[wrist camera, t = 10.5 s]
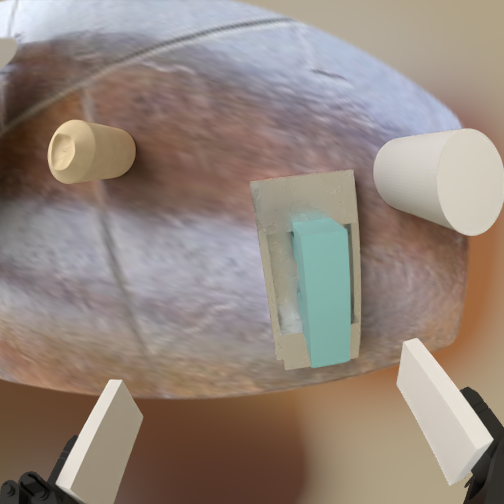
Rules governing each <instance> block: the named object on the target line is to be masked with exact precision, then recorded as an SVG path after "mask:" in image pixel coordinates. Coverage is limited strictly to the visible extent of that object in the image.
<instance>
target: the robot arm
mask: <svg viewBox="0 0 504 504" xmlns="http://www.w3.org/2000/svg"><path fill="white" fill-rule="evenodd" d="M397 386H398V388H399V390H400V391H401V393H402V395H403V397H404V399H405V400H406V402H407V404H408V406H409V408H410V410H411V411H412V413H413V415H414V417H415V419H416V421H417V422H418V424H419V426H420V428H421V430H422V432H423V434H424V436H425V437H426V439H427V441H428V443H429V445H430V447H431V449H432V451H433V453H434V455H435V457H436V459H437V461H438V463H439V465H440V467H441V469H442V471H443V473H444V476H445V477H446V480H447V482H448V484H449V486H450V485H452V484H454V483H456V482H458V481H459V480H461V479H463V478H465V477H466V476H467V474H468V473H469V472H470V471H471V472H472V473H473V476H472V477H471V478H470V480H469V481H468V482H467V483H466V485H465V488H466V487H467V486H468V485H469V484H470V485H469V488H468V491H467V494H466V497H465V500H464V503H463V504H504V427H503V426H502V424H501V423H500V422H499V420H498V419H497V417H496V416H495V415H494V414H493V412H492V411H491V409H490V408H488V406H487V404H486V403H485V402H484V401H483V399H482V398H481V396H480V395H479V394H478V393H477V392H476V391H474V390H472V389H471V388H469V387H466V388H464V389H462V390H460V391H459V390H458V388H457V387H456V386H455V384H454V383H453V382H452V381H451V379H450V378H449V377H448V375H447V374H446V373H445V371H444V370H443V369H442V368H441V366H440V365H439V364H438V363H437V361H436V360H435V359H434V358H433V356H432V355H431V354H430V353H429V351H428V350H427V349H426V348H425V346H424V345H423V344H422V343H421V342H420V340H419V339H418V338H414V339H411V340H408V341H405V342H403V348H402V355H401V361H400V367H399V373H398V379H397ZM142 420H143V415H142V414H141V412H140V411H139V409H138V407H137V405H136V404H135V402H134V400H133V398H132V396H131V395H130V393H129V391H128V389H127V387H126V385H125V384H124V382H123V380H109V382H108V384H107V385H106V387H105V389H104V391H103V393H102V394H101V396H100V398H99V400H98V402H97V404H96V405H95V407H94V409H93V411H92V413H91V414H90V416H89V418H88V420H87V422H86V424H85V425H84V427H83V429H82V431H81V433H80V435H79V436H76V435H74V436H73V437H72V438H71V439H70V440H69V441H68V442H67V444H66V446H65V448H64V450H63V452H62V453H61V455H60V459H58V461H57V463H56V465H55V467H54V469H53V471H52V473H51V475H50V477H49V479H48V481H47V482H46V481H44V480H43V479H42V478H41V477H40V476H39V475H38V474H37V473H35V472H32V471H31V472H26V473H24V474H23V475H22V476H21V477H20V479H19V482H18V484H17V483H16V482H15V481H13V480H8V481H6V482H4V483H3V485H2V486H1V489H0V504H113V503H114V500H115V497H116V494H117V491H118V488H119V485H120V482H121V479H122V476H123V473H124V470H125V467H126V464H127V461H128V459H129V456H130V453H131V450H132V447H133V444H134V442H135V439H136V436H137V433H138V430H139V428H140V425H141V422H142Z"/></svg>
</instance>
